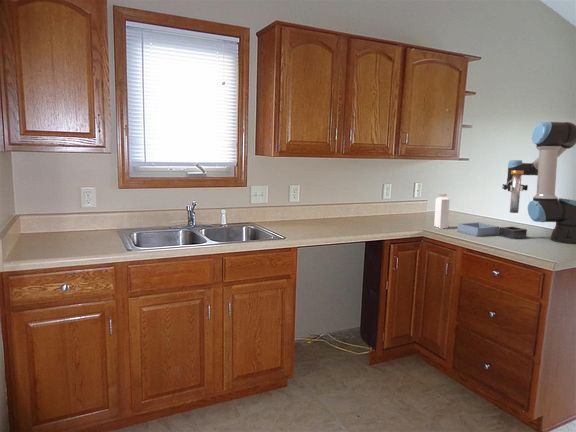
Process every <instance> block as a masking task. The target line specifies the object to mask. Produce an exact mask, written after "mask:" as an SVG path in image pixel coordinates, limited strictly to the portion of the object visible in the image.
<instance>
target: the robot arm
mask: <svg viewBox="0 0 576 432" xmlns="http://www.w3.org/2000/svg"><path fill="white" fill-rule="evenodd" d="M531 140H532V143H533V144H535V146H536V149H537V150H538V157H537V158H536V159H535V160H534V161H533V162H529V163H528V162H527V163H526V162H523V160H521V159H518V160H517V159H510V160H509V161H508V164H507V177H506V184H504V183H503V184H502V185H501V187H502V189H503V190H505V191H507V192H510V193H511V191H512V178H513V174H511V170H520V171H524V174H522V175H521V176H537V179H536V194H535V195H534V196H533V197H532V200H531V201H529V202H528V205H527V212H528V213H527V215H528V217H530V219H531V220H532V221H533V222H537V223H555V227H554V228H553V230H552V232H551V234H550V240H551V241H554V242H560V243H565V244H566V243H567V244H576V200H575V199H570V198H569V199H568V198H563V197H562V198H561V197H558V196H557V195H556V184H557V183H556V182H557V168H558V165H557V164H558V158H559V157H560V156H562V154H563V153H565V152H566V151H567V150H568V149H572V148H574V146H575V145H576V124H574V123H572V122H568V121H567V122H565V121H564V122H563V121H560V122H559V121H545V122H540V123H538V124H537V125H536V126H535V127H534V129H533V132H532V135H531ZM528 187H529V185H528V184H521V186H520V192H523V191H528Z"/></svg>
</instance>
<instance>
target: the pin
mask: <svg viewBox="0 0 576 432" xmlns="http://www.w3.org/2000/svg"><path fill="white" fill-rule="evenodd" d="M511 174H513V178H512V191H511V192H510V202H509V203H510V205H509V213H511V214H518V213H519V210H520V208H519V207H520V197H521V196H520V195H521V191H520V186H521V185H522V176H523V175H522V174H524V171H520V170H511Z"/></svg>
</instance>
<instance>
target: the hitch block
mask: <svg viewBox="0 0 576 432" xmlns="http://www.w3.org/2000/svg"><path fill="white" fill-rule="evenodd" d="M498 227H499V234H498V237H501V238H502V237H503V238H506V239H511V240H517V239H519V240H520V239H527V232H528V229H527V228H521V227H517V226H502V227H500V226H498Z"/></svg>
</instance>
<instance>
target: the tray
mask: <svg viewBox="0 0 576 432" xmlns="http://www.w3.org/2000/svg"><path fill="white" fill-rule="evenodd" d="M499 227H500V226H498V225H493V224H487V223H484V222H483V223H482V222H465V223H457V233H460V232H461V233H462V234H465V235H469V236H473V237H479V238H480V237H490V236H499Z"/></svg>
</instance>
